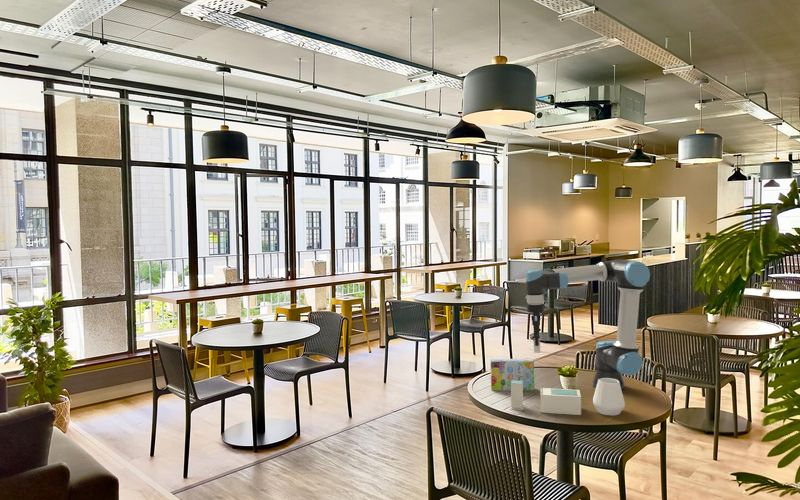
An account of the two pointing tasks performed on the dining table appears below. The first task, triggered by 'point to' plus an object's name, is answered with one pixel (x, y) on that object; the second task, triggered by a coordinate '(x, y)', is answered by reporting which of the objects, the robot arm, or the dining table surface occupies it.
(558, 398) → the white tissue box
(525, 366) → the snack box
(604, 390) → the white vase
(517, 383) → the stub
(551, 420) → the dining table surface
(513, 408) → the pad
